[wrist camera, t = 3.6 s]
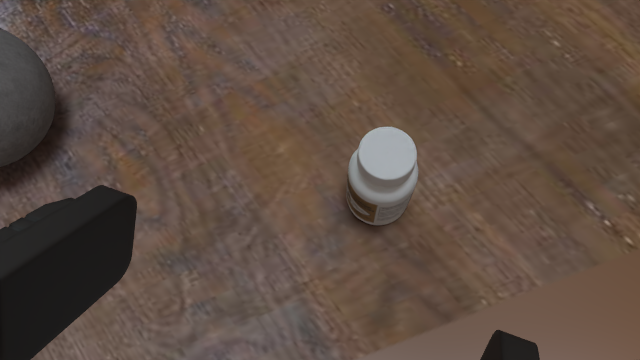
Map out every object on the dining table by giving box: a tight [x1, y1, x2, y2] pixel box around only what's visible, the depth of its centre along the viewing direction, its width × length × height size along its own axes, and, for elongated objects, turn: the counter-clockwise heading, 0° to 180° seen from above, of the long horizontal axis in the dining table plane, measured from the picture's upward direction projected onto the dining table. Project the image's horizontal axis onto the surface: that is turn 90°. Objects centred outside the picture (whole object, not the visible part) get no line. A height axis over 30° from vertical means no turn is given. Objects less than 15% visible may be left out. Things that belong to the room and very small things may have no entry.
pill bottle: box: [347, 127, 418, 225], centre depth 34 cm, size 4×4×8 cm
